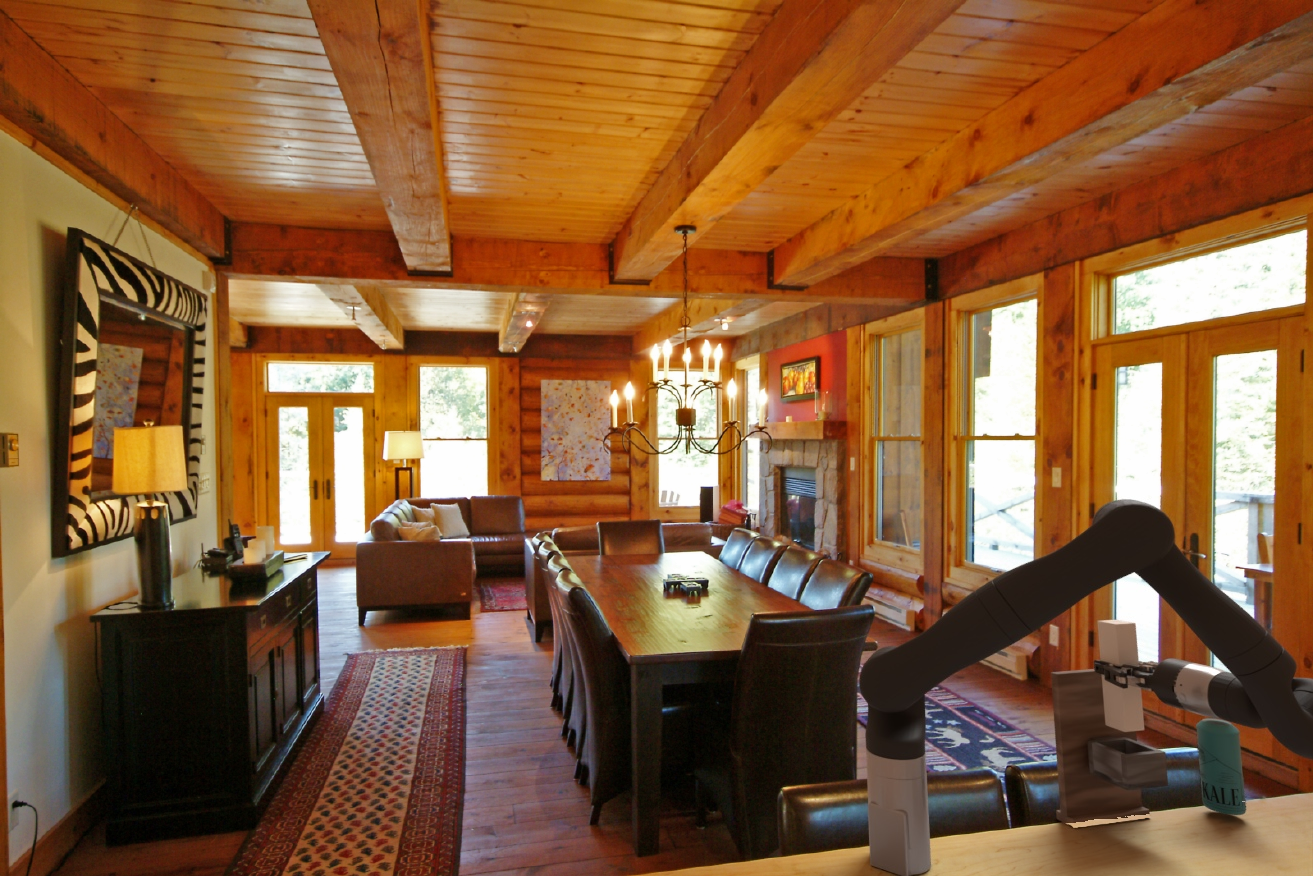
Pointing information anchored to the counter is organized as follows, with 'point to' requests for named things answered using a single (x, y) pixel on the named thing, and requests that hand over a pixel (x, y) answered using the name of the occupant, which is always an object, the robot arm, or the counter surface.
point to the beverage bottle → (1220, 767)
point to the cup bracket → (1098, 754)
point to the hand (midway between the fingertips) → (1106, 665)
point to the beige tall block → (1120, 649)
